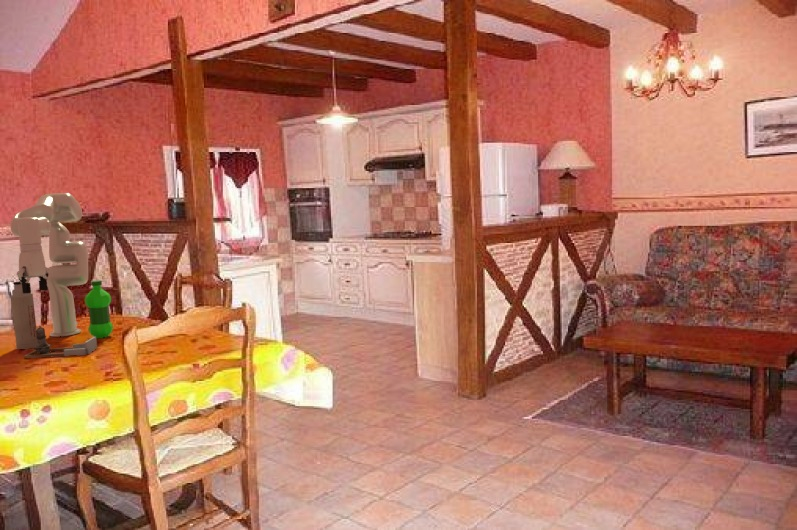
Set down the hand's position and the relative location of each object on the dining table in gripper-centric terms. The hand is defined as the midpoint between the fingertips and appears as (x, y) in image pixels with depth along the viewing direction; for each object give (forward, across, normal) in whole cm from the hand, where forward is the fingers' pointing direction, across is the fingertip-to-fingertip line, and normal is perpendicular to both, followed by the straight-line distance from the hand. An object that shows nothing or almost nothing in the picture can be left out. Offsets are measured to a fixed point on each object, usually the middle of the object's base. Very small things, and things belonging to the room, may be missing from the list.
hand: (35, 291), depth 260 cm
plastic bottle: (+24, -29, +8) cm, 38 cm away
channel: (+25, +1, +5) cm, 26 cm away
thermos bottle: (+25, -11, -14) cm, 31 cm away
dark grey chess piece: (+26, +2, +2) cm, 26 cm away
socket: (+25, -2, +16) cm, 30 cm away
